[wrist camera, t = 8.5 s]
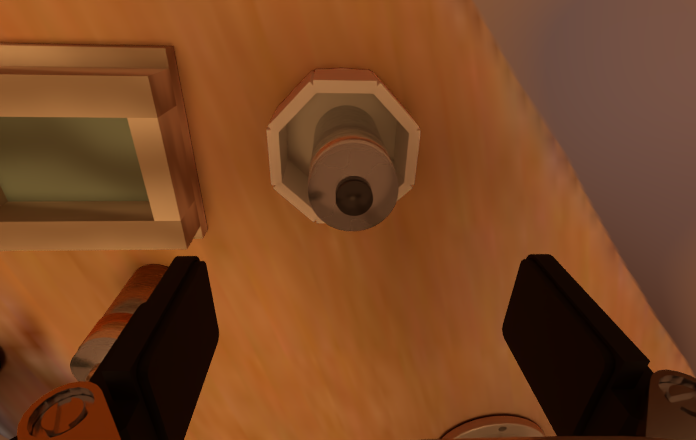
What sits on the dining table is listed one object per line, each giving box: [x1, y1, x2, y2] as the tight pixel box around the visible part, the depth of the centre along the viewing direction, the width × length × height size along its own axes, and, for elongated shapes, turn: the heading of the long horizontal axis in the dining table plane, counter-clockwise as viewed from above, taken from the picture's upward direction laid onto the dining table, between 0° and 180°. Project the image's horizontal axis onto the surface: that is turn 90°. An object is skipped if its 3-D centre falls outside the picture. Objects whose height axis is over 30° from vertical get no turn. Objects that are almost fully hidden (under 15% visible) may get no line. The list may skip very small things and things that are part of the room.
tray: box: [0, 43, 208, 251], centre depth 22 cm, size 12×13×4 cm
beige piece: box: [267, 68, 421, 223], centre depth 22 cm, size 8×8×4 cm
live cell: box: [70, 264, 168, 382], centre depth 25 cm, size 4×4×9 cm
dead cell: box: [308, 105, 399, 231], centre depth 20 cm, size 4×4×9 cm
